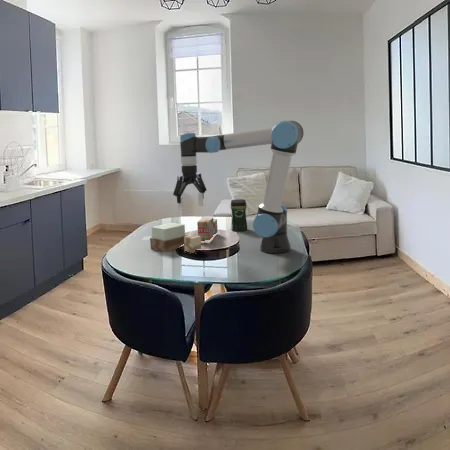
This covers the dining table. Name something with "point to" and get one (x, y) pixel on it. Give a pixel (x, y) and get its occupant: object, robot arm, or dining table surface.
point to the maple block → (192, 243)
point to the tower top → (168, 231)
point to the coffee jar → (238, 215)
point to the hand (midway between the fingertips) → (191, 207)
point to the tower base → (166, 244)
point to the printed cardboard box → (207, 228)
